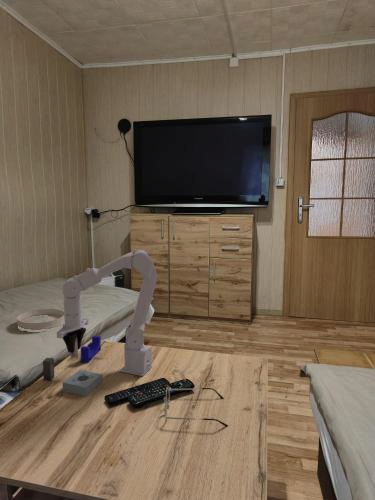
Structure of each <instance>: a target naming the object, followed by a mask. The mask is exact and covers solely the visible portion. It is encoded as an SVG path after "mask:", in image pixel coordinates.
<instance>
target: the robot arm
mask: <svg viewBox="0 0 375 500" xmlns="http://www.w3.org/2000/svg"><path fill="white" fill-rule="evenodd" d="M132 266H133V267H132ZM132 268H134V269H135V270H137V272H139V273H140V275H141V276H142V278H143V280H142V283H141V287H140V291H139V293H138V298H137V301H136V304H135V309H134V312H133V316H132V318H131V320H130V322H129V325H128V326H127V327H126V328H125V330H124V333H125V343H124V352H123V353H124V366H123V367H122V368H120V369H119V372H120V373H125V374H131V375H135V376H139V377H143V376H145V375H146V373H147V372H148V371H149V370H151V369H152V367H153V365H152V349H151V348H150V347H147V346H146V345H145V339H144V332H145V326H146V320H147V316H148V313H149V310H150V306H151V303H152V300H153V295H154V294H155V293H154V292H155V288H156V285H157V281H158V278H159V277H158V275H159V274H158V273H157V269H156V267H155V264H154V261H153V259H152V258H151V256H150V255H149V253H147V251H146V250H144V249H143V248H142V249H140V248H138V249H134V251H133V252H132V251H131V252H128V253H126V254H123V255H121V256H119V257H117V258H116V259H114V260H111V261H110V262H108V263H106V264H105V265H103V266H102V267H99V268H95V267H92V268H90V267H88V268H86V269H85V271H84V272H81V273H80V274H77V275H76V274H75V275H73V277H71V278H68V279H67V280H66V281H65V282H64V284H63V285H62V289H61V290H62V294H63V312H64V321H65V324H63V326H62V327H60V329H59V330H58V331H56V338H57V339H62V340H63V342H64V343H65V346H66V349H67V352H68V353H69V354H70V353H74V351H75V340H76V337H77V338H78V350H81V347H82V346H81V345H82V342H83V341H82V340H83V338H84V336H85V334H86V332H87V328H86V327H84V326H88V325H89V319H88V318H82V317H83V316H82V314H83V313H82V299H81V292H84V291H87V290H88V289H90V288H92V287H95V286H96V285H98V284H100V283H102V279H103V278H104V277H106V276H108V275H110V274H112V273H115V272H117V271H119V270H121V269H131V270H132Z"/></svg>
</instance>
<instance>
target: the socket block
mask: <svg viewBox="0 0 375 500" xmlns="http://www.w3.org/2000/svg"><path fill="white" fill-rule="evenodd" d="M102 384H103V374H102V373H97V372H94V371H88V370H83V369H79V370H77V371H76V372H75V373H73V374H72V375H70V376H69V377H68V378H66V379H65V380H63V381H62V392H64V393H65V392H66V393H70V394H74V395H79V396H83V397H87V396H89V394H91V393H92V392H93V391H94V390H96V389H97V388H98V387H99V386H100V385H102Z"/></svg>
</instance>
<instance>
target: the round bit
mask: <svg viewBox="0 0 375 500" xmlns="http://www.w3.org/2000/svg"><path fill="white" fill-rule="evenodd" d="M78 356H79V349H78V338H77V337H76V340H75V351H74V353H70V352H69V357H70V358H77V357H78Z"/></svg>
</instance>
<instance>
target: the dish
mask: <svg viewBox="0 0 375 500" xmlns="http://www.w3.org/2000/svg"><path fill="white" fill-rule="evenodd" d="M39 315H48V320H49V321H48V322H41V323H25V322H21V320H22V319H25V318H28V317H32V316H39ZM46 317H47V316H46ZM16 321H17V322H16V326H17V325H18V326H19V327H21V328H24V329H31V330H41V329H51V328H55V327H58V326H61V325H62V324H63V323H64V322H65V321H64V310H61V309H58V308H40V309H33V310H29V311H25V312H23V313H21V314H19V315H18V316H17V317H16Z"/></svg>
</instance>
